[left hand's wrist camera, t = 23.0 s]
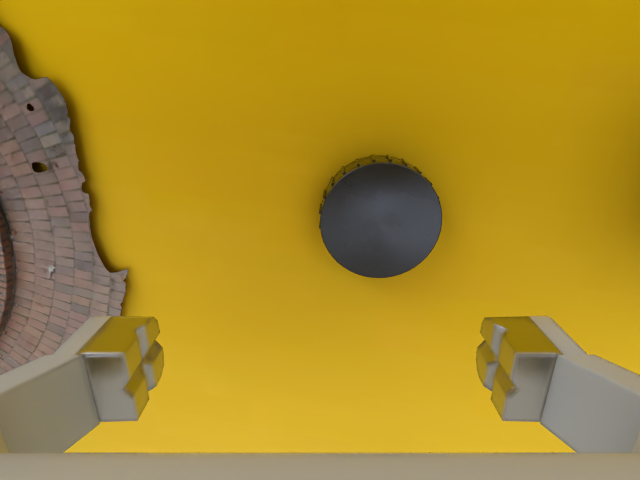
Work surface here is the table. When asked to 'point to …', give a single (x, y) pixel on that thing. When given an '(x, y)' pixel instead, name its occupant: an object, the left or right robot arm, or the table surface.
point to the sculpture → (43, 224)
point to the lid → (380, 217)
